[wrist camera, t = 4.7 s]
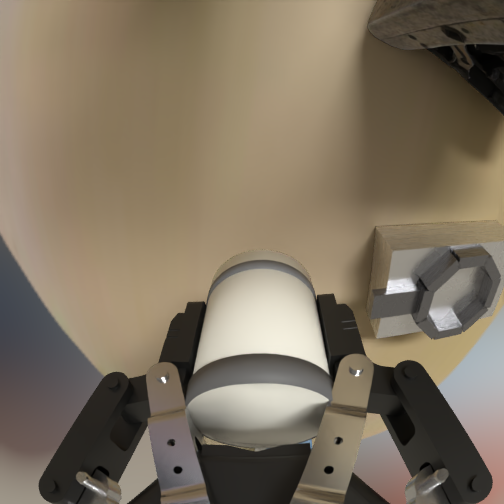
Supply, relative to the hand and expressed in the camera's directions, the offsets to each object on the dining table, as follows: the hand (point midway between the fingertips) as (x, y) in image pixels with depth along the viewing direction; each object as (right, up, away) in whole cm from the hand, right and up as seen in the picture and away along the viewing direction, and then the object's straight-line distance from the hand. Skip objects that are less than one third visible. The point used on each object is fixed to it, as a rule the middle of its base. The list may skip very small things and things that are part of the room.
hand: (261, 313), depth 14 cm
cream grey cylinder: (0, +1, +1) cm, 2 cm away
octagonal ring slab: (+17, +2, +12) cm, 21 cm away
